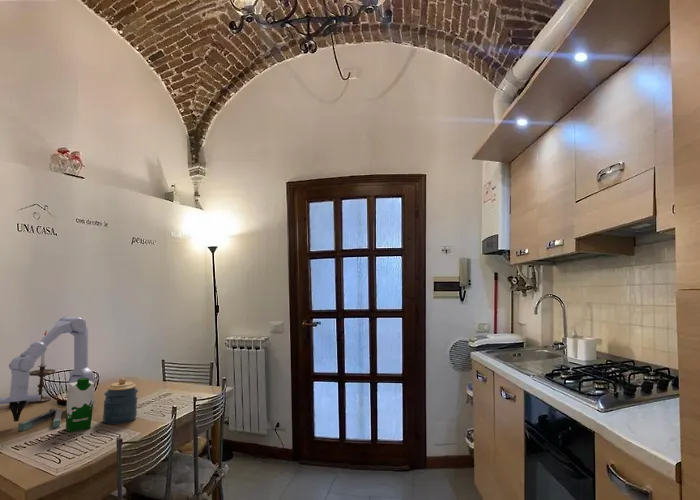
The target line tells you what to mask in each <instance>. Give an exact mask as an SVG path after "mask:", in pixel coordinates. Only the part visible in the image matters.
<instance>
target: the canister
mask: <svg viewBox="0 0 700 500" xmlns="http://www.w3.org/2000/svg"><path fill="white" fill-rule="evenodd" d="M136 387H137V384H136V383H134V382H133V381H127V380H126V378H124V377H121V378H120V379H119V380H118V382H117V381H116V382H113V383H111V384H110V385H109V386H107V387H106V389H107V391H105V392H104V396H105V397H104V398H105V399H104V400H103V414H102V422H103V423H104V424H107V425H120V424H126V423H130V422H132V421H134V420H135V419H136V418H137V415H138V411H137V409H138V408H137V407H138V396H137V394H138V392H139V389H137V388H136Z"/></svg>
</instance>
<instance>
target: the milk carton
mask: <svg viewBox="0 0 700 500" xmlns="http://www.w3.org/2000/svg"><path fill="white" fill-rule="evenodd" d="M94 388H95V382H94V383H93V382H92V381H89V378H80V379H78V380H77V382H74V383H69V384H68V388H67V397H66V398H67V399H66V408H65V428H66V430H67V431H68V432H69V433H76V432H81V431H84V430H90V429H91V425H92V420H93V419H92V418H93V409H94V405H93V397H94V398H95V391H94Z"/></svg>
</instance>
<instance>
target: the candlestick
mask: <svg viewBox="0 0 700 500" xmlns="http://www.w3.org/2000/svg"><path fill="white" fill-rule="evenodd" d="M47 333H48V331H47V330H45V332H44V336H43V338H44V337H45V336H46V335H47ZM46 355H47V350H46V351H45V352H44V353H43V354H42V355H41V356H40V365H38V366H37V367H38V368H39V369H37V370H30V374H29V377H30V376H31V377H34V376H35V377H39V384H37V388H38V389H37V392H38V394H37V395H41V399H40V401H27V403H29V404H42V403H47V402H49V401H50V402H51V400H52V397H50V396H43V392H44V389H43V388H44V387H45V384H44V377H45V376H48V375H53V374H55V373H56V369H51V368H46V367H48V365H46V357H47V356H46Z"/></svg>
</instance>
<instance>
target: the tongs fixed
mask: <svg viewBox="0 0 700 500" xmlns="http://www.w3.org/2000/svg"><path fill="white" fill-rule="evenodd" d="M48 412H52V415H51V418H53V423H52V429H56V428H57V429H58V427H59V428H60V427H61V420H62V416H63V408H57V409H55V408H54V407H52V408H50V409H49V410H48Z"/></svg>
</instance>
